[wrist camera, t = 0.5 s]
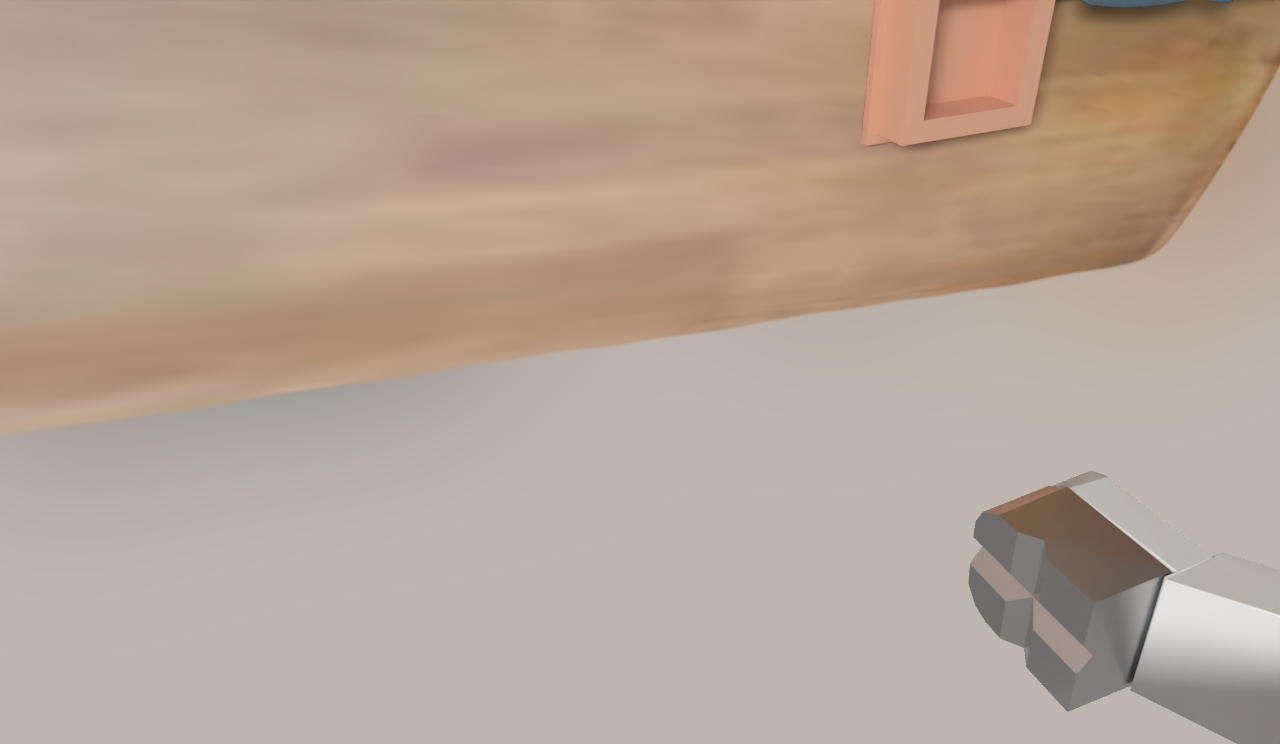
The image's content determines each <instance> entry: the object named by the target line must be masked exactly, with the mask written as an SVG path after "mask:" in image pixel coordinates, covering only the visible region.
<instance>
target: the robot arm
mask: <svg viewBox="0 0 1280 744" xmlns="http://www.w3.org/2000/svg"><path fill="white" fill-rule="evenodd" d="M974 538H975V539H976V540H977V541H978V542H979V543H980V544H981V545H982V547H981V549H980V550H979V552H978V553H977V555H976V556H975V557H974V559H973V560H972V562H971V563H970V572H969V587H970V589H971V593H972V596H973V599H974V602H975V605H976V607H977V609H978V610H979V612H980V614H981V615H982V617H983V618H984V620H985V622H986V623H987V624H988V625H989V626H990V627H991V628H992V630H993V631H994V632H995V633H996V634H997V635H998V636H999V637H1000V638H1001V639H1004V640H1006V641H1009V642H1011V643H1014V644H1016V645H1019V646H1021V647H1024V651H1025V659H1026V667H1027V668H1028V669H1029V670H1030V672H1031V673H1032V674H1033V675H1034V676H1035V677H1036V678H1037V679H1038V680H1039V681H1040V682H1041V683H1042V685H1043V686H1044V687H1045V688H1046V689H1047V690H1048V691H1049V692H1050V693H1051V694H1052V695H1053V696H1054V698H1055V699H1056V700H1057V701H1058V702H1059V703H1060V704H1061V705H1062V706H1063V707H1064V708H1065V709H1066V711H1071V710H1073V709H1075V708H1078V707H1080V706H1083V705H1085V704H1088V703H1090V702H1092V701H1095V700H1097V699H1100V698H1102V697H1104V696H1107V695H1109V694H1111V693H1114V692H1117V691H1119V690H1121V689H1124V688H1126V687H1129V686H1131V685H1132V686H1131V689H1130V690H1131V691H1133V692H1135V693H1137V694H1139V695H1141V696H1143V697H1145V698H1147V699H1149V700H1151V701H1153V702H1155V703H1157V704H1159V705H1161V706H1163V707H1165V708H1167V709H1169V710H1171V711H1173V712H1175V713H1177V714H1179V715H1181V716H1183V717H1185V718H1187V719H1189V720H1191V721H1193V722H1195V723H1197V724H1199V725H1201V726H1203V727H1205V728H1207V729H1209V730H1211V731H1213V732H1215V733H1217V734H1219V735H1221V736H1223V737H1225V738H1227V739H1229V740H1231V741H1233V742H1235V743H1237V744H1280V570H1278V569H1275V568H1272V567H1268V566H1265V565H1262V564H1259V563H1255V562H1252V561H1248V560H1245V559H1242V558H1239V557H1235V556H1232V555H1229V554H1225V553H1221V554H1218V555H1215V556H1211V555H1209V554H1208V553H1206V552H1205V551H1204V550H1203V549H1201V548H1200V547H1199V546H1197V545H1196V544H1195V543H1193V542H1192V541H1191V540H1189V539H1188V538H1187V537H1185V536H1184V535H1183V534H1182V533H1180V532H1179V531H1178V530H1176V529H1175V528H1174V527H1172V526H1171V525H1170V524H1168V523H1167V522H1166V521H1164V520H1163V519H1162V518H1161V517H1159V516H1158V515H1157V514H1155V513H1154V512H1153V511H1151V510H1150V509H1149V508H1147V507H1146V506H1145V505H1143V504H1142V503H1141V502H1139V501H1138V500H1137V499H1136V498H1134V497H1133V496H1132V495H1130V494H1129V493H1128V492H1126V491H1125V490H1124V489H1122V488H1121V487H1120V486H1118V485H1117V484H1116V483H1115V482H1113V481H1112V480H1111V479H1109V478H1108V477H1106V476H1105V475H1103V474H1100V473H1097V472H1093V471H1090V472H1087V473H1084V474H1081V475H1079V476H1076V477H1074V478H1071V479H1069V480H1066V481H1063V482H1061V483H1058V484H1056V485H1054V486H1047V487H1045V488H1042V489H1040V490H1037V491H1035V492H1032V493H1030V494H1027V495H1025V496H1022V497H1020V498H1017V499H1015V500H1012V501H1010V502H1007V503H1005V504H1002V505H1000V506H997V507H994V508H992V509H989V510H987V511H984V512H983V513H982V514H981V515H980V517H979V518H978V519H977V520H976V524H975V530H974Z"/></svg>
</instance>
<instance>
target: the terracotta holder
mask: <svg viewBox="0 0 1280 744" xmlns="http://www.w3.org/2000/svg"><path fill="white" fill-rule="evenodd" d="M1054 5H1055V0H875V7H874V17H873V27H872V37H871V48H870V58H869V68H868V78H867V89H866V99H865V109H864V119H863V130H862V140H861V144H863V145H865V146H869V145H875V144H881V143H887V142H894V143H896V144H898V145H900V146H905V145H911V144H917V143H924V142H930V141H936V140H942V139H948V138H954V137H960V136H966V135H972V134H978V133H984V132H990V131H996V130H1002V129H1008V128H1014V127H1020V126H1026V125H1031V121H1032V116H1033V111H1034V106H1035V101H1036V96H1037V91H1038V86H1039V81H1040V76H1041V71H1042V66H1043V61H1044V55H1045V50H1046V45H1047V40H1048V35H1049V30H1050V25H1051V20H1052V15H1053V10H1054Z"/></svg>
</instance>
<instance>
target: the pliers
mask: <svg viewBox="0 0 1280 744" xmlns="http://www.w3.org/2000/svg"><path fill="white" fill-rule="evenodd" d="M1081 1H1082V2H1084V3H1086V4H1089V5H1099V6H1110V7H1143V6H1155V5H1163V4H1171V3H1177V2H1182V1H1186V0H1081ZM1209 1H1214V2H1230V1H1232V0H1209Z"/></svg>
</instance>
